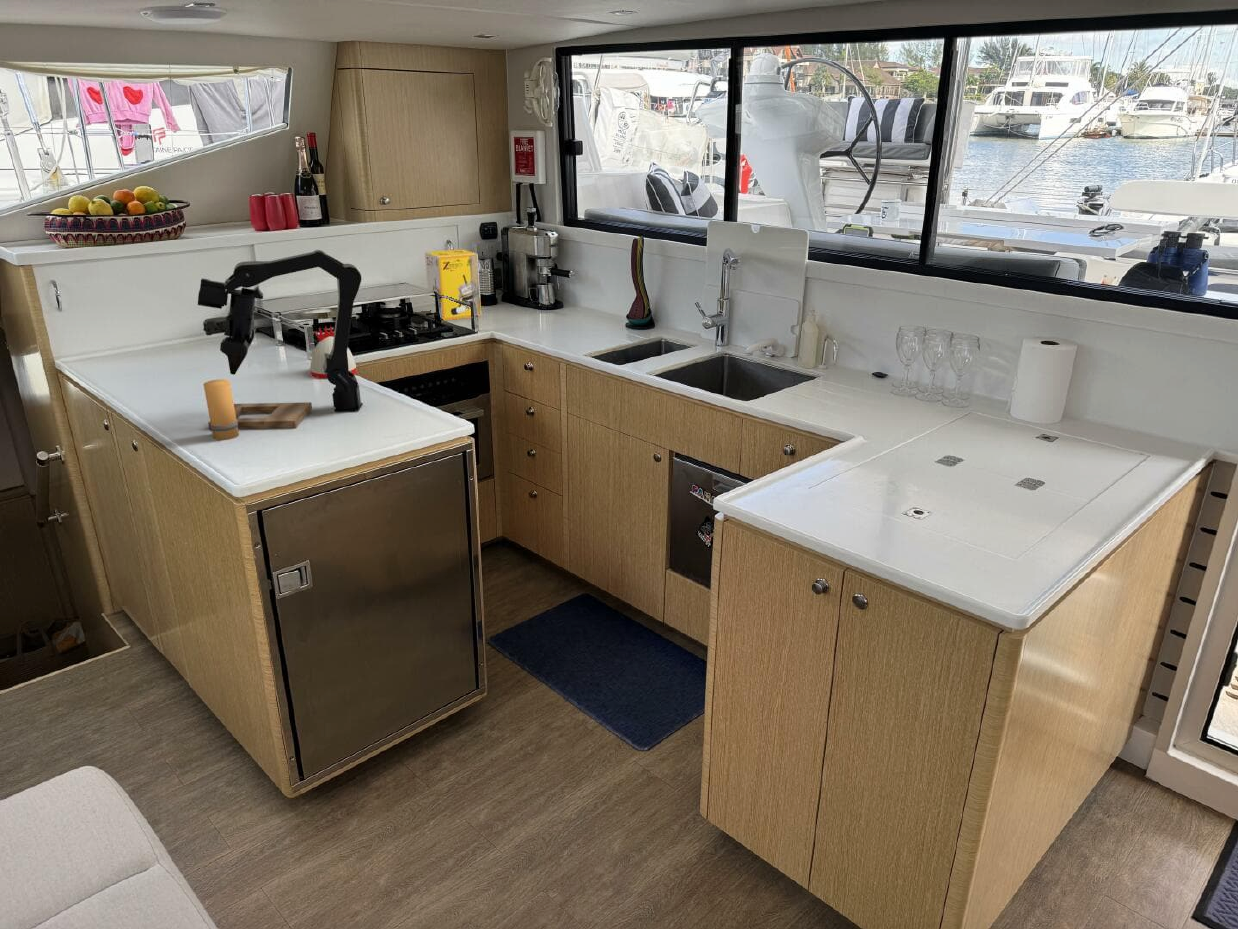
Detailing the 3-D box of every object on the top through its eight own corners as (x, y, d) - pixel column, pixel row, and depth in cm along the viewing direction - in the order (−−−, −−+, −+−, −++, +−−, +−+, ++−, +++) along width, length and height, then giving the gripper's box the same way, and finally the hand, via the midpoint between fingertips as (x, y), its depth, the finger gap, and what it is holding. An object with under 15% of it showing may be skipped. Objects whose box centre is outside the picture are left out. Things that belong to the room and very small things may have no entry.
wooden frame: (312, 409, 242) (311, 402, 241) (295, 428, 227) (294, 420, 227) (231, 410, 241) (230, 403, 240) (209, 429, 226) (208, 422, 225)
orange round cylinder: (243, 431, 225) (234, 379, 220) (234, 440, 219) (225, 386, 214) (217, 432, 225) (208, 379, 219) (208, 440, 219) (198, 386, 214)
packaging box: (481, 316, 356) (477, 253, 347) (443, 320, 348) (438, 257, 339) (467, 309, 369) (462, 249, 360) (429, 313, 361) (424, 251, 352)
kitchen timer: (308, 370, 280) (301, 324, 274) (351, 365, 286) (346, 320, 280) (315, 381, 268) (308, 333, 263) (360, 375, 274) (355, 328, 269)
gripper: (213, 295, 230) (207, 351, 236) (200, 315, 214) (195, 374, 219) (258, 304, 234) (252, 359, 239) (249, 324, 217) (242, 382, 223)
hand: (235, 368), depth 230 cm, fingers open, 9 cm apart
